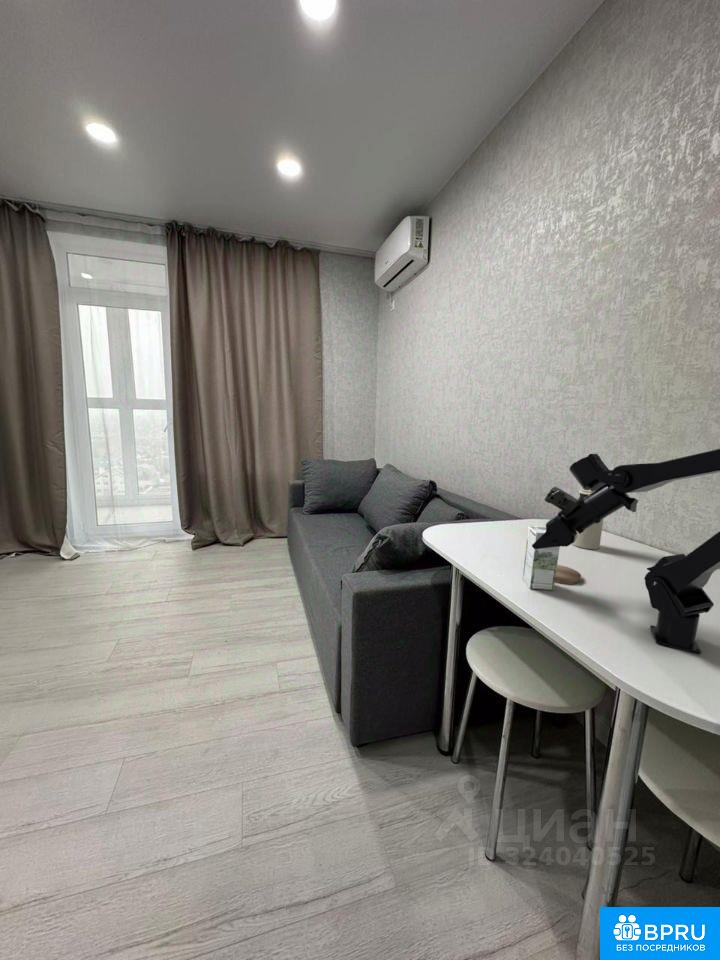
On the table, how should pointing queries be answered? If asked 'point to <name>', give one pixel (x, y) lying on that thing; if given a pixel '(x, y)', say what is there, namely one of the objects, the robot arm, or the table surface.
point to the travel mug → (589, 531)
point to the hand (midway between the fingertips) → (538, 542)
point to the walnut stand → (567, 575)
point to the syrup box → (539, 562)
